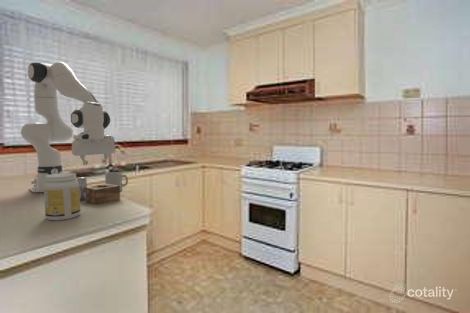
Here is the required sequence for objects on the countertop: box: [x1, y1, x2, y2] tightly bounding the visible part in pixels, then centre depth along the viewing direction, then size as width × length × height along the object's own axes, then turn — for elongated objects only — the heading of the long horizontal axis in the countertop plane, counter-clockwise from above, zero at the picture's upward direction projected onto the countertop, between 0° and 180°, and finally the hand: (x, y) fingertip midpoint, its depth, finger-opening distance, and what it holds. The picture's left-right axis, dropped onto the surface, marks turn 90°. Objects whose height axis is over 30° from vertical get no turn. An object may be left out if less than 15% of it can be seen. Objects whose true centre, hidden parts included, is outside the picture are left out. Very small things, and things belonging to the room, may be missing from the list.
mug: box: [104, 171, 129, 193], centre depth 163 cm, size 12×8×11 cm
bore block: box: [85, 183, 121, 205], centre depth 142 cm, size 10×12×7 cm
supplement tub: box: [43, 172, 81, 221], centre depth 115 cm, size 12×12×17 cm
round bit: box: [76, 176, 88, 202], centre depth 144 cm, size 4×4×11 cm
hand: (95, 163), depth 142 cm, fingers open, 8 cm apart
